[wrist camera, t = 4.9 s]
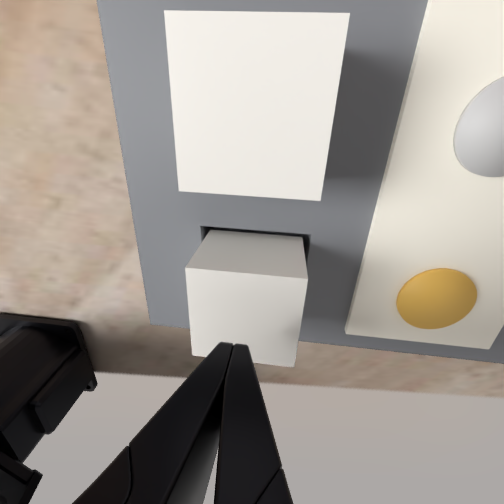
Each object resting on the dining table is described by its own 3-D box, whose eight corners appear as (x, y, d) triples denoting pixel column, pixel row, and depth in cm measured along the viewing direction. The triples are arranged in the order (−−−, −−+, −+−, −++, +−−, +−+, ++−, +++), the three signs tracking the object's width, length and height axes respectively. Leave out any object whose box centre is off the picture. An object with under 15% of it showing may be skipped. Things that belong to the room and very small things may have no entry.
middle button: (208, 170, 10) (178, 191, 7) (204, 46, 8) (163, 10, 6) (310, 177, 10) (320, 200, 7) (327, 49, 8) (350, 12, 5)
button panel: (172, 290, 16) (145, 331, 13) (111, -269, 8) (-10, -535, 5) (473, 320, 15) (523, 374, 12) (810, -320, 6) (1328, -749, 3)
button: (212, 303, 13) (192, 355, 10) (210, 229, 11) (185, 267, 8) (292, 311, 13) (294, 367, 10) (302, 236, 11) (308, 278, 8)
